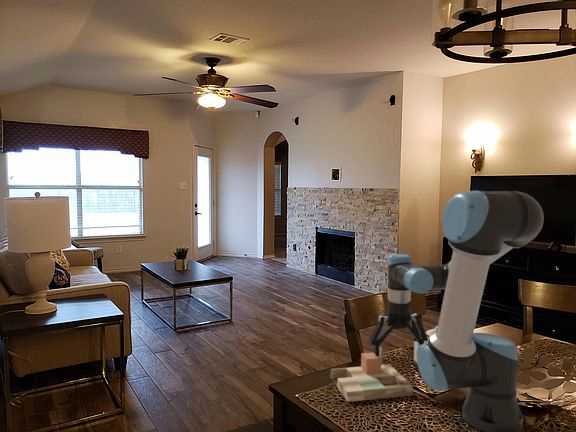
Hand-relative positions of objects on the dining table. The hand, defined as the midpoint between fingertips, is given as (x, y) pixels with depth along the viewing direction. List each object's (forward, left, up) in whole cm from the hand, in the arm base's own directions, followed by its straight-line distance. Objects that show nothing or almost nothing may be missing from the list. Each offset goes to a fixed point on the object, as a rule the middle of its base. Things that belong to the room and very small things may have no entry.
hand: (398, 363), depth 148 cm
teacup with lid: (+13, -21, -5) cm, 25 cm away
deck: (-5, +12, -5) cm, 14 cm away
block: (0, +10, -2) cm, 10 cm away
